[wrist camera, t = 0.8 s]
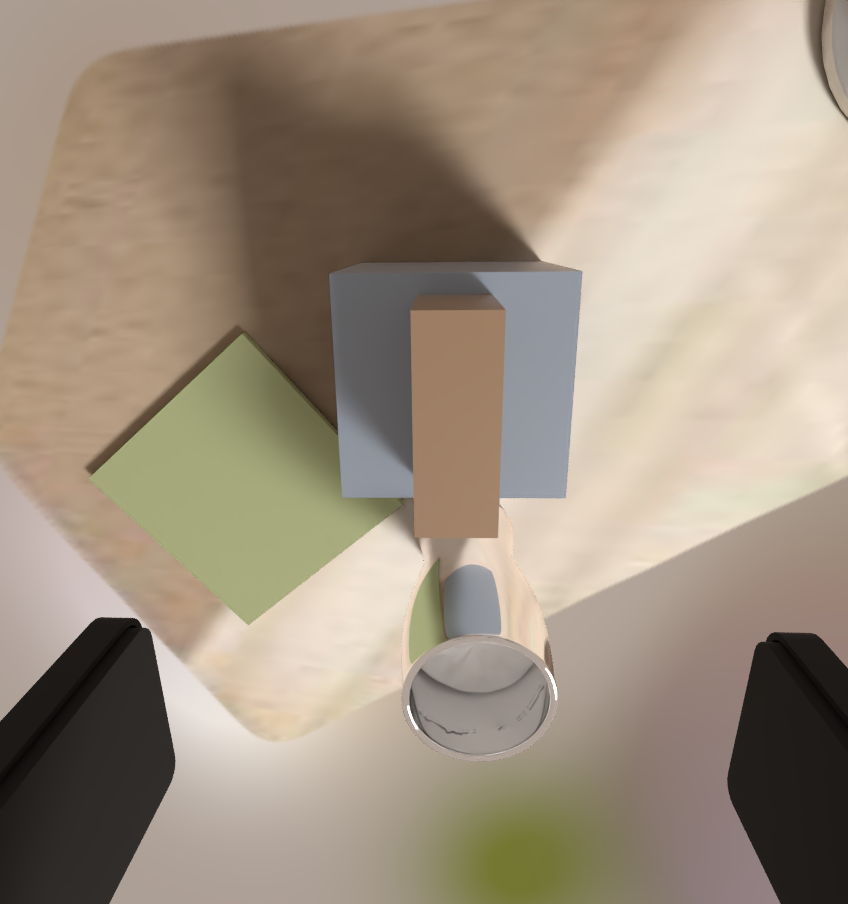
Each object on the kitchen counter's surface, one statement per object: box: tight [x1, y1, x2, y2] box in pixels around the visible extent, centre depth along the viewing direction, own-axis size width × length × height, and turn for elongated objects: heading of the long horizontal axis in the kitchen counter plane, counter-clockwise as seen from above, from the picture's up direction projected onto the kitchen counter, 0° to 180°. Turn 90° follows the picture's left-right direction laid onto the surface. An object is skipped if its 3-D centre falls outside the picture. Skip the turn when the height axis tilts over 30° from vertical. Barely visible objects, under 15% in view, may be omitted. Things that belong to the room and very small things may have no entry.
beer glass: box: [401, 506, 558, 762], centre depth 33 cm, size 7×7×15 cm
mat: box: [89, 332, 403, 625], centre depth 39 cm, size 14×14×1 cm
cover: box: [329, 261, 582, 538], centre depth 28 cm, size 10×10×16 cm
